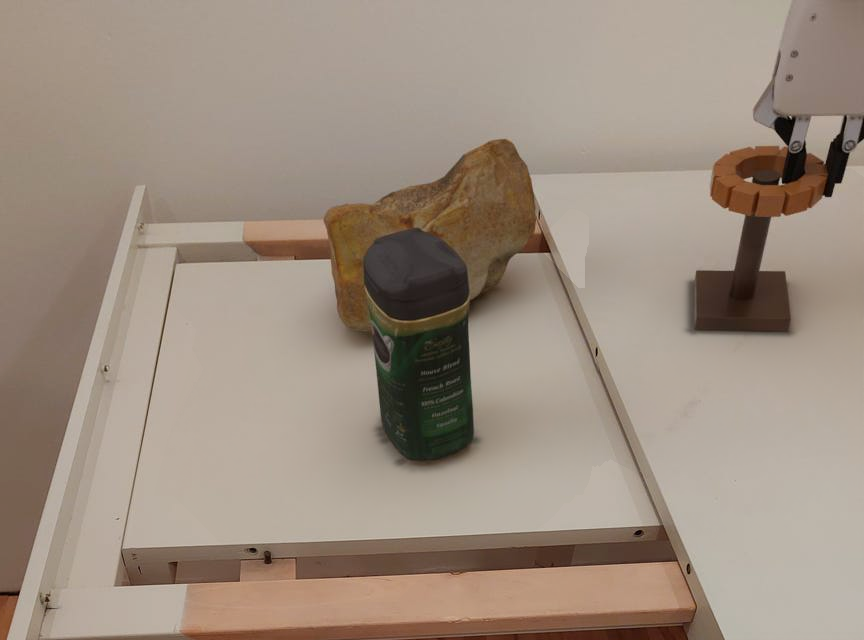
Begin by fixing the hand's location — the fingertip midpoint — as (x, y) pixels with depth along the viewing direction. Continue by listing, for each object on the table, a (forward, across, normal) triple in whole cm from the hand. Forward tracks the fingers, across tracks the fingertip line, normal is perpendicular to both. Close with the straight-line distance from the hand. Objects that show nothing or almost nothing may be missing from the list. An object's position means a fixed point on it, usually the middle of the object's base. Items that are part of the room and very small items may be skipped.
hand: (808, 188), depth 87 cm
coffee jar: (+12, +33, +23) cm, 42 cm away
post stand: (+12, +4, 0) cm, 13 cm away
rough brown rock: (+12, +38, -2) cm, 40 cm away
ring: (0, +4, 0) cm, 4 cm away
